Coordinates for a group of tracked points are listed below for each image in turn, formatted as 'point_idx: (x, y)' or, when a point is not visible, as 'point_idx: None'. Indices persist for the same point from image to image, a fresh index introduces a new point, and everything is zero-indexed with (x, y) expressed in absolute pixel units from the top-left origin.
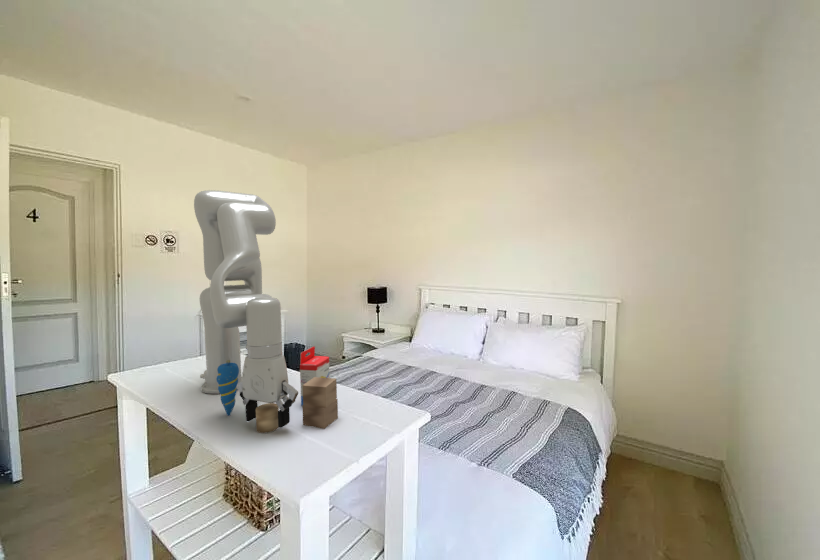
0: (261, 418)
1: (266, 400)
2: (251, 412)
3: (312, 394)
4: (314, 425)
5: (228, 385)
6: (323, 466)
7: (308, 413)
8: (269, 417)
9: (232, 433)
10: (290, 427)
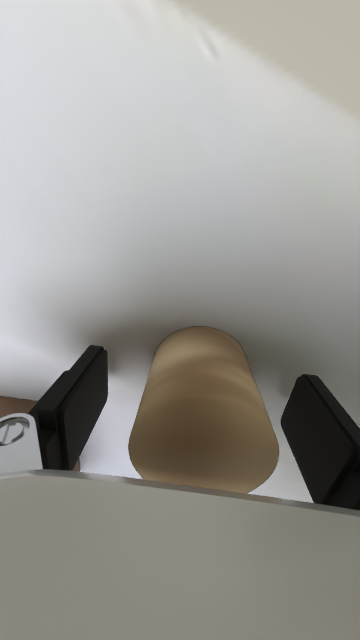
0: (198, 367)
1: (80, 499)
2: (311, 422)
3: None
4: (16, 403)
5: None
6: None
7: None
8: (153, 382)
9: (344, 296)
10: None
